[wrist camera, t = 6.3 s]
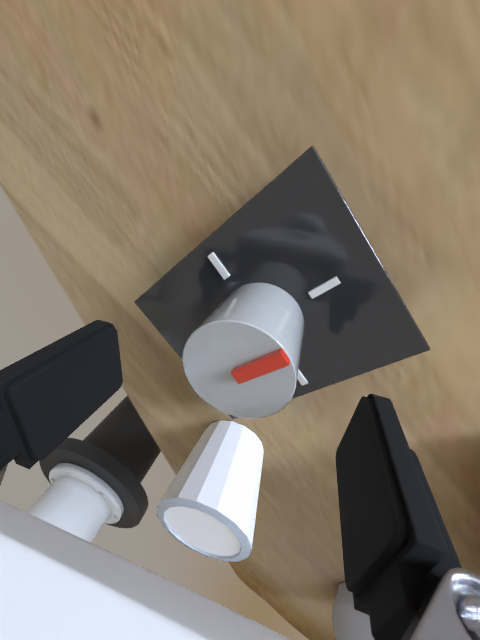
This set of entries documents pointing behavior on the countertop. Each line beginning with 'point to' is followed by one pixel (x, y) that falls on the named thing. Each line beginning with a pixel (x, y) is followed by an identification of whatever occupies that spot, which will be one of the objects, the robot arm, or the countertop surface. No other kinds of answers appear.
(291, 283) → the hob panel
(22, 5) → the countertop surface
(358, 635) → the salt shaker
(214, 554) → the shot glass
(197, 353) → the hob knob
